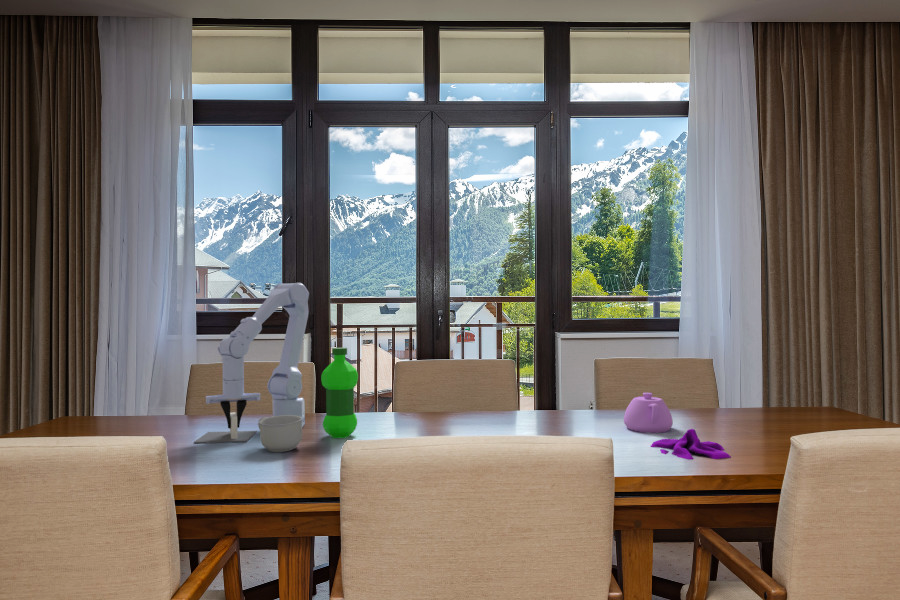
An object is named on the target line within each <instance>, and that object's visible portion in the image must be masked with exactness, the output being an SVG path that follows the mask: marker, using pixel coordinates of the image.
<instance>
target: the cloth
mask: <svg viewBox="0 0 900 600" xmlns="http://www.w3.org/2000/svg"><path fill="white" fill-rule="evenodd" d="M697 434H698V433H697V432H696V430H695V428H689V429H687V430H686V432H685V433H684V434H683V436H682V437H680V438H679V439H677V438H662V439H659V440H655V441H653V442H652V443H651V445H650V448H657V449H659V451H660V453H661V454H663V455H667V454H669V453H670V451H669V450H672V452H671V455H673V456H676V457H677V458H680V459H684V460H689V461H690V460H694V457H693V456H692V455H695V456H696V455H697V456H703V457H706V458H709V459H711V460H720V459H728V458H732V456H731V455H729V453H728V452H725V448H724V447H723V446H722V445H721V444H720V443H718V442H714V441H709V440H708V441H701V440H700V438H699V437H698V435H697Z"/></svg>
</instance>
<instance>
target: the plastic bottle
mask: <svg viewBox="0 0 900 600" xmlns="http://www.w3.org/2000/svg"><path fill="white" fill-rule="evenodd" d="M331 355H332V356H333V360H332V362H331V363H330V364H328V366H326V367H325V369H324V370H323V371H322V373H321V377H320V380H321V385H322V386H323V388H324V389H325V411H326V412H325V413H326V415H325V416H324V418H323V421H322V427H323V431H324V432H325V433H326V434H328V435H329V436H330V437H331V438H333V439H345V437H346V438H349V437H350V436H351V435H352V434H353V433H354V432H355V431H356V428H357V426H358V418H357V415H356V413H355V406H354V404H355V400H354V399H355V395H354V394H355V390H354V388H355V387H356V386H357V385H358V380H359V373H358V370H357V368H355V367H354V366H353V365H352V364H351V363H350V362H349V361H347V360H346V355H348V348H347V347H332V348H331Z"/></svg>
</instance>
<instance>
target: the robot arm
mask: <svg viewBox="0 0 900 600" xmlns="http://www.w3.org/2000/svg"><path fill="white" fill-rule="evenodd" d="M309 296H310V292H309V291H308V288H307V287H306V285H304V284H303V283H302V282H295V283H283V282H281V283H277V284H276V285H275V286H274V287H273V288H272V289H271V290H270V291H269V295H268V296H267V297H266V299H265V300H264V301H263V302H262V304H261V305H260V306H259V308H258V309H257V310H256V311H255V313H254V314H253V315H252V316H247V317H245V318H242V319H240V324H239V325H238V326H236V328H235V329H234V330H233V331H232V330H231V332H230V333H229V334H230V335H229V336H227V337H223V338H222V340H221V341H220V343H219V346H218V347H217V352H218V353H219V355H220V356H221V362H222V394H216V395H206V396H205V404H207V405H209V404H220V407H221V408H222V411H223V413H224V414H225V417H226V422H227V428H228V429H230V428H231V420H230V413H231V403H233V402H234V403H235V404H236V415H237V429H239V428H240V423H241V420H242V416H243V413H244V411H245V409H246V407H247V403H248V401H249V402H250V401H251V402H252V401H256V402H257V401H261V392H253V393H252V392H251V393H249V392H248V393H247V392H246V393H245V359H244V358H245V356H246V355H247V353H248V351H249V346H250V344H252V342H253V341H254V339H256V337H257V336H258V335H259V334H260V333H261V331H263V325H262V324H263V323H265V321H266V320H268V319H269V317H271V315H272V314H273V313H274V312H275V311H277V310H278V308H280V307H282V308H283V309H284V310H285V311H286V312H287V313H288V315H289V318H288V321H287V322H288V323H287V328H286V332H285V337H284V341H283V346H282V350H281V355H280V359H279V364H278V365H277V366H276V367H275V368H274V369H273V370H272V374H271V375H270V376H271V377H270V378H269V379H268V381H267V391H268V393H269V394H270V395H271V398H272V417H273V416H280V415H295V416H300V417H301V418H302V428H303V427H304V426H305V425H306V418H305V416H306V414H305V412H306V411H305V409H306V408H305V406H306V405H305V398H304V397H299V395H300V394H301V393H302V389H303V382H302V377H303V373H302V372H301V371H300V370H299V368H298V367H299V361H300V357H301V352H302V347H303V343H304V337H305V333H306V328H307V324H308V323H307V322H308V318H309V314H310V313H309V312H310V311H309V304H308V301H309V298H310V297H309Z"/></svg>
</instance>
